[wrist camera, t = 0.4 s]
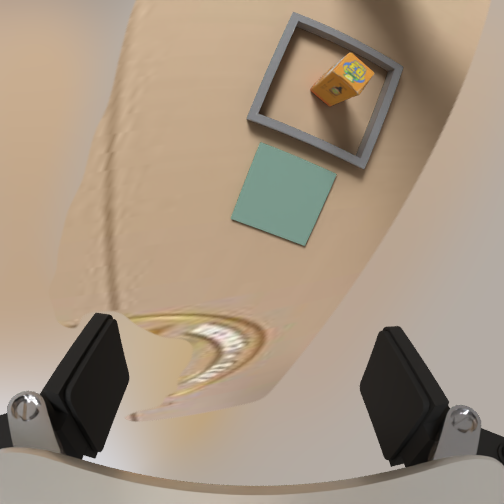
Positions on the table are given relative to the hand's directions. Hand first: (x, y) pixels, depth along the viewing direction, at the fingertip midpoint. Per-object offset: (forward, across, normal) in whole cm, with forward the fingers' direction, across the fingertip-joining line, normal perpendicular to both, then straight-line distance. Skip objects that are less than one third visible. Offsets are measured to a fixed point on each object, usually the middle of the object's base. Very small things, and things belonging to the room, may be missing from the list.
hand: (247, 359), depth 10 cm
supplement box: (+29, -9, -14) cm, 33 cm away
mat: (+29, -4, 0) cm, 29 cm away
